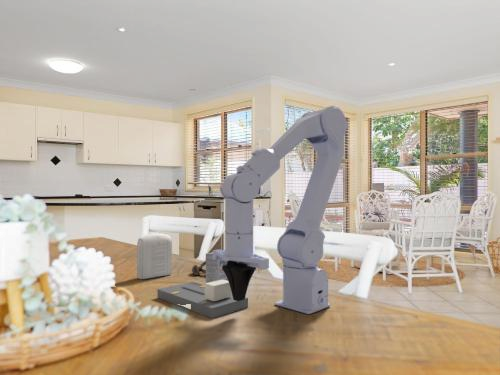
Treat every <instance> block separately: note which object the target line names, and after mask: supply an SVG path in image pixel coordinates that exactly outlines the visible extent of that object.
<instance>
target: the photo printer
mask: <svg viewBox="0 0 500 375" xmlns="http://www.w3.org/2000/svg"><path fill="white" fill-rule="evenodd" d="M136 244H137V245H136V246H137V252H136V254H137V255H136V258H137V260H136V276H137V279H139V280H147V279H152V278H159V277H164V276H171V275H172V270H173V269H172V268H173V240H172V237H171V235H169V234H167V233H166V234H165V233H160V232H157V233H149V234H145V235H143V236H141V237H139V238H138V239H137V243H136Z"/></svg>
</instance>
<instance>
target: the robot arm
mask: <svg viewBox="0 0 500 375" xmlns="http://www.w3.org/2000/svg"><path fill="white" fill-rule="evenodd" d="M348 127H349V123H348V120H347V119H346V116H345V113H344V112H343V110H342V109H341V108H340V107H338V106H336V105H330V106H327V107H325V108H321V109H317V110H314V111H308V112H304V114H302V115H301V116H300V117H299V118H297V119H296V120H294V123H293V124H292V125H291V126H290V127H289V128H288V129H287V130H286V131H284V133H282V135H281V136H280V137H279V138H278V139H277V140H276V141H275V142H274V143H273V144H272V145H271V147H270V148H264V147H263V148H260V149H254V150H253V151H252V153H251V155H252V157H249V159H248V160H247V161H245V163H244V164H242V165H238V166H237V167H236V173H233V174H232V173H231V174H228V175H227V176H226V177H225V178H223V179H224V180H222V182H223V183H222V184H221V186H220V187H219V189H220V190H219V191H220V194H221V197H223V199H224V202H225V203H224V205H225V207H224V208H225V209H224V232H225V233H224V234H225V235H224V236H225V237H224V242H225V243H224V249H215V250H214V249H213V250H212V252H213V260H222V261H227V265H223V266H222V270H223V271H224V273H225V275H226V277H227V279H228V281H229V284H230V288H231V292H232V296H233V300H236V301H241V300H244V299H245V297H246V295H247V291H248V288H249V284H250V281H251V279H252V277H253V275H254V273H255V272H256V270H257V269H258V270H260V271H263V270H268V269H270V258H267V257H263V256H261V255H259V254H255V253H254V200H255V199H256V198H257V197H258V196H259V193H260V188H261V187H262V186H263V185H264V184H265V183H266V182H267V181H268V180H269V179H270V178H271V177H272V176H273V175H275V173H277V172H278V170H280V168H281V160H282V159H283V158H285V157H286V156H287V155H288V154H289V153H290V152H292V151H293V150H294V149H295V148H296V147H298V146H299V145H300V143H302V142H303V141H304V140H306V141H307V142H308V143H309V145H310V146H311V147H312V149H313V150H315V152H316V154H317V157H316V160H315V163H314V165H313V169H312V171H311V175H310V177H309V180H308V183H307V186H306V189H305V191H304V194H303V197H302V199H301V200H302V201H301V204H300V205H299V208H298V211H297V215H296V218H295V219H294V220H292V221H291V222H290V223H289V224H288V225H287V226H286V228H285V231H284V233H283V234H281V235H280V237H279V238H278V241H277V244H276V246H277V247H276V250H277V253H278V254H279V256H280V257H281V259H282V260H281V262H282V264H283V265H282V280H283V281H282V284H283V285H282V291H283V292H282V299H281V300H277V301H275V302H274V305H276V306H278V307H281V308H286V309H289V310H292V311H296V312H300V313H304V314H306V315H310V314H311V315H312V314H313V313H316V312H319V311H321V310H324V309H327V308H329V307H330V306H331V304H330V303H329V276H328V274H327V271H326V270H325V269H323V268H319V267H318V266H319V263H320V262H321V260H322V258H323V255H324V241H325V238H326V236H325V235H326V234H325V233H324V231H323V230H322V227H321V223H322V221H323V217H324V216H325V211H326V208H327V205H328V203H329V200H330V197H331V193H332V190H333V189H334V186H335V185H334V184H335V182H336V179H337V175H338V173H339V169H340V166H341V164H342V161H343V158H344V154H345V135H346V132H347V129H348Z"/></svg>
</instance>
